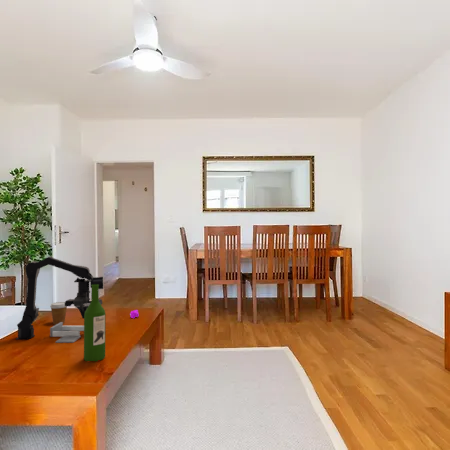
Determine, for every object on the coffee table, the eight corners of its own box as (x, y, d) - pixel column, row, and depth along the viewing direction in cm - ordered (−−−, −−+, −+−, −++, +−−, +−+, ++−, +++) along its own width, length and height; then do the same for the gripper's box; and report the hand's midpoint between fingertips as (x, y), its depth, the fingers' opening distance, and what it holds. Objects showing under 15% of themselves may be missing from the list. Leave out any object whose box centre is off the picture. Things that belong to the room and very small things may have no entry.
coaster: (55, 342, 172) (55, 341, 172) (63, 337, 181) (63, 335, 181) (73, 342, 172) (73, 341, 172) (80, 337, 181) (80, 335, 181)
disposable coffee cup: (46, 324, 205) (46, 304, 205) (59, 320, 214) (59, 301, 214) (58, 326, 201) (58, 305, 202) (71, 322, 210) (71, 302, 210)
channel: (50, 336, 182) (50, 328, 182) (60, 330, 193) (60, 322, 193) (78, 336, 182) (78, 328, 182) (87, 330, 193) (87, 322, 193)
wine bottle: (92, 363, 145) (92, 287, 146) (79, 359, 150) (79, 285, 151) (109, 356, 153) (110, 284, 153) (96, 353, 158) (97, 282, 158)
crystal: (129, 317, 222) (129, 310, 222) (138, 316, 224) (138, 309, 224) (130, 319, 217) (130, 311, 217) (139, 318, 219) (139, 311, 219)
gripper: (59, 292, 180) (59, 322, 180) (95, 292, 180) (95, 322, 180) (69, 288, 191) (69, 316, 191) (102, 288, 191) (102, 316, 191)
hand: (83, 318), depth 188 cm, fingers closed
